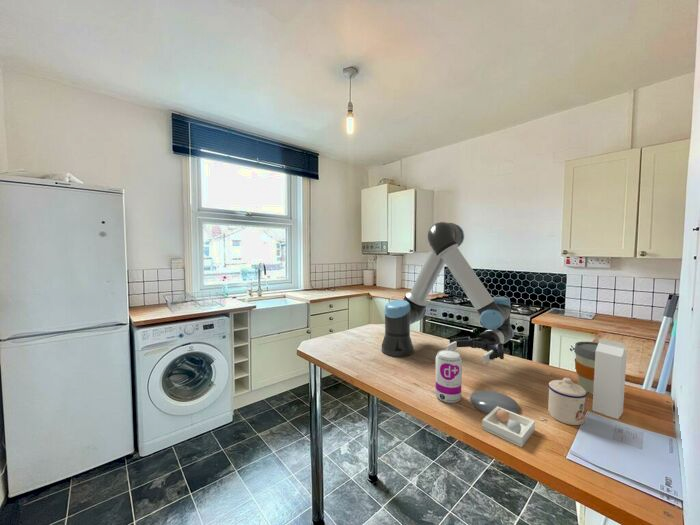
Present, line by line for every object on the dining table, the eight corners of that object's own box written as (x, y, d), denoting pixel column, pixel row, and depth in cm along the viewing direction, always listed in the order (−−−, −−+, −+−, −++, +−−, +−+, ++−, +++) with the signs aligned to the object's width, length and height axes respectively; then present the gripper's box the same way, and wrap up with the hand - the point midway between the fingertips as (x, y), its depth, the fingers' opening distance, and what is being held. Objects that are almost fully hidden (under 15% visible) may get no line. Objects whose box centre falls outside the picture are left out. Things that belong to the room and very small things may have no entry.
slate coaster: (462, 403, 94) (462, 400, 94) (481, 388, 104) (481, 386, 104) (508, 423, 84) (508, 420, 84) (525, 404, 93) (525, 402, 93)
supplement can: (461, 405, 93) (462, 360, 92) (434, 401, 96) (435, 357, 94) (460, 393, 101) (461, 350, 99) (435, 389, 103) (436, 348, 102)
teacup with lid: (583, 430, 80) (586, 389, 79) (544, 417, 86) (546, 379, 85) (587, 411, 89) (589, 374, 88) (551, 400, 95) (552, 366, 94)
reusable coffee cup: (572, 391, 101) (574, 349, 100) (572, 377, 111) (574, 338, 110) (622, 403, 93) (624, 357, 92) (617, 387, 103) (619, 345, 102)
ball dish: (482, 428, 82) (482, 419, 81) (497, 414, 88) (497, 406, 88) (521, 447, 74) (521, 437, 74) (534, 430, 81) (534, 421, 81)
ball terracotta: (494, 420, 84) (495, 410, 83) (499, 416, 86) (499, 405, 86) (506, 426, 81) (507, 415, 81) (511, 421, 83) (511, 410, 83)
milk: (618, 420, 85) (622, 346, 83) (591, 410, 90) (595, 340, 88) (623, 412, 88) (627, 341, 87) (597, 403, 93) (601, 336, 91)
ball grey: (505, 432, 79) (505, 421, 79) (510, 427, 81) (510, 416, 81) (518, 438, 76) (518, 426, 76) (522, 432, 78) (523, 421, 78)
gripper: (524, 357, 108) (501, 375, 94) (460, 341, 127) (433, 355, 113) (525, 337, 108) (501, 352, 94) (460, 324, 126) (433, 336, 112)
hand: (464, 354), depth 103 cm, fingers open, 13 cm apart
